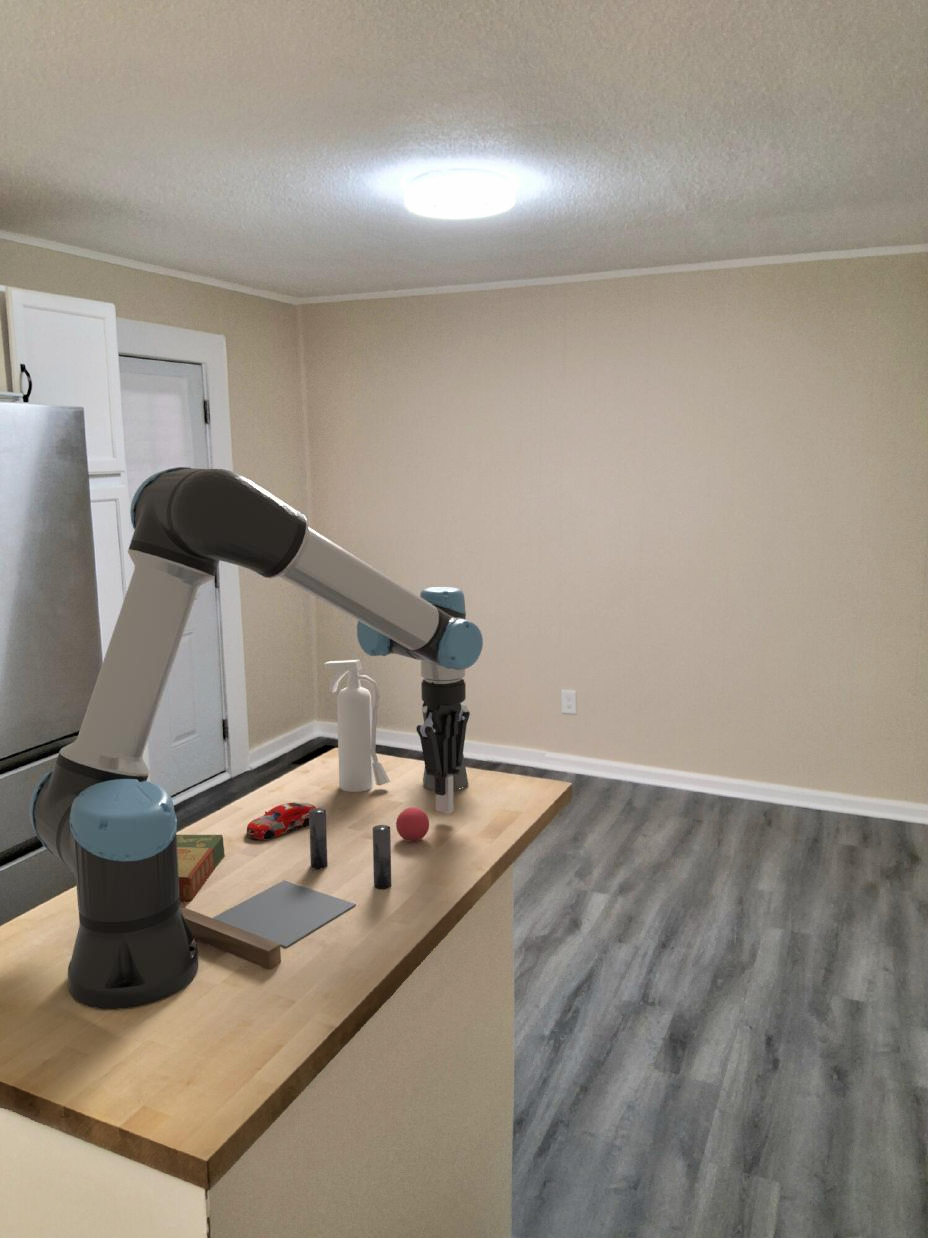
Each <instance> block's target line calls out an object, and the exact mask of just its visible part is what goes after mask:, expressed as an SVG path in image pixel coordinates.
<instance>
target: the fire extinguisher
mask: <svg viewBox="0 0 928 1238" xmlns="http://www.w3.org/2000/svg"><path fill="white" fill-rule="evenodd" d="M323 669H327V670H337V671H338V672H337V673H335V674H334V676H333V677H332V678H331V680H330V681H329V686H328V691H329V692H330V693H331V694H332V693H335V692H337V690H338V687H339V684H340V681H342V678H343V677H345V675H346V674H348V676H347V681H346V683H347V684H346V687H345V688H341V689H340V691H339V692H338V694H337V697H336V708H337V711H336V712H337V715H336V716H337V717H336V718H337V747H338V748H337V749H338V776H339V777H338V781H339V782H338V783H339V784H338V786H339V789H341V790H342V791H343V792H349V793H360V792H361V793H362V792H366V791H369V790H371V789H372V788H373V787H374V783H375V785H376V786H379V787H380V786H382V785H386V784H388V783H390V782H391V780H390V778H389V777H388V774H387V772H386V770H385V767H384V766H383V764H382V762H381V761H379V759H378V756H377V752H376V747H377V746H376V743H377V742H376V741H377V717H378V716H377V715H378V713H377V712H378V707H379V700H380V692H379V691H380V690H379V686H378V682H377V681H376V680H374V679H373V678H371V677H369V675H364V674H360V673H359V671H361V670H363V666H362V662H361V659H348V660H331V661H330V660H329V661H327V662H324V663H323ZM361 681H366V682H368V683H369V684H371V685H372V687H373V693H374V700H373V705H372V695H371V692H370V690H369V689H367V688H366V687H362V685H361ZM374 781H375V782H374Z"/></svg>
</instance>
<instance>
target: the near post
mask: <svg viewBox="0 0 928 1238" xmlns="http://www.w3.org/2000/svg"><path fill="white" fill-rule="evenodd" d="M391 837H392V835H391V826H389V825H386V824H378V825H375V826H373V827H372V856H373V857H372V858H373V860H372V861H373V864H372V865H373V866H372V867H373V887H374V888H375V889H376V890H382V891H384V890H388V889H390V888H391V887H392V849H391V848H392V847H391V846H392V845H391V842H392V841H391V840H392V839H391Z"/></svg>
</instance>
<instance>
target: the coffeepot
mask: <svg viewBox="0 0 928 1238" xmlns="http://www.w3.org/2000/svg"><path fill="white" fill-rule="evenodd" d="M421 706H422V707H421V710H422V717H423V723H424V722H425V721H426V717H425V715H426V711H427V705H426V703H425V702H423V703H422V705H421ZM461 709H462V710H464V711H469V709H468V707H467V705H464V704H461ZM464 755H465V754H463V757H462V765H461V766H460V767H457V768H456V769H457V770H460V772H459V774H454V788H453V790H455V791H459V790H460V789H459V788H462V787H464V788H466V787H467V786H468V785H469V779H468V774H467V768H466V762H465V761H466V760H465V756H464ZM422 776H423V777H422V783H423V787H425V788H426V789H428V788H429V789H428V790H431V789H432V790H431V791H435V777H434V776H431V775H427V774H426V769H425V768H424V771H423V775H422ZM466 785H467V786H466ZM465 786H466V787H465ZM458 789H459V790H458ZM462 789H463V788H462Z"/></svg>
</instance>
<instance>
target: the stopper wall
mask: <svg viewBox="0 0 928 1238" xmlns="http://www.w3.org/2000/svg"><path fill="white" fill-rule="evenodd" d="M181 911H182V913H183V915H184V918H185V920H186V922H187V924H188V927H189V929H190V931H191V933H192V936H193V938H194V940H196V941H198V942H200V943H203V944H206V945H208V946H210V947H213V948H215V949H217V950H220V951H223V952H225V953H227V954H229V955H232V956H234V957H237V958H240V959H242V960H244V961H247V962H250V963H252V964H254V965H257V966H259V967H262V968H264V969H267V970H271V969H273V968H274V967H277V966H278V965H280V964H282V954H281V953H282V952H281V946H280V944H278V943H276V942H273V941H270V940H268V939H265V938H262V937H260V936H257V935H255V934H252V933H249V932H247V931H244V930H242V929H239V928H236V927H234V926H231V925H229V924H226V923H223V922H221V921H218V920H216V919H213V917H210V916H208V915H205V914H202V913H201V912H197V911H195V910H192V909H189V908H187V907H182V908H181Z"/></svg>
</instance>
